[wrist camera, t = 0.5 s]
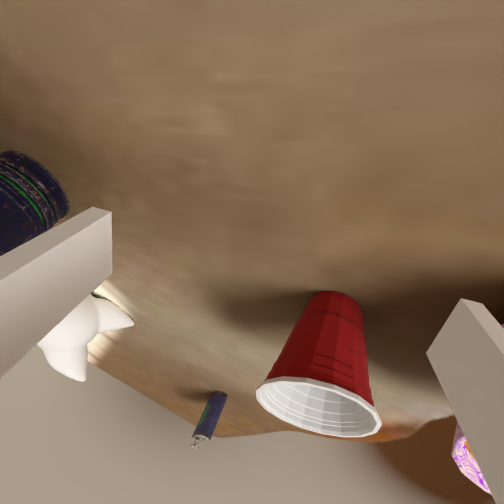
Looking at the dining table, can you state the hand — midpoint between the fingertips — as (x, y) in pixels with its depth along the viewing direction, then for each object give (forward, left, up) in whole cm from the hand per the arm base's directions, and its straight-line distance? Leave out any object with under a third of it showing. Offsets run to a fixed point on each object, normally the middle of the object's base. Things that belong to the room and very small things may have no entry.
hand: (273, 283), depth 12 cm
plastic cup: (+20, +5, -15) cm, 26 cm away
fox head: (+41, -37, -16) cm, 57 cm away
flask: (+64, -10, -15) cm, 66 cm away
